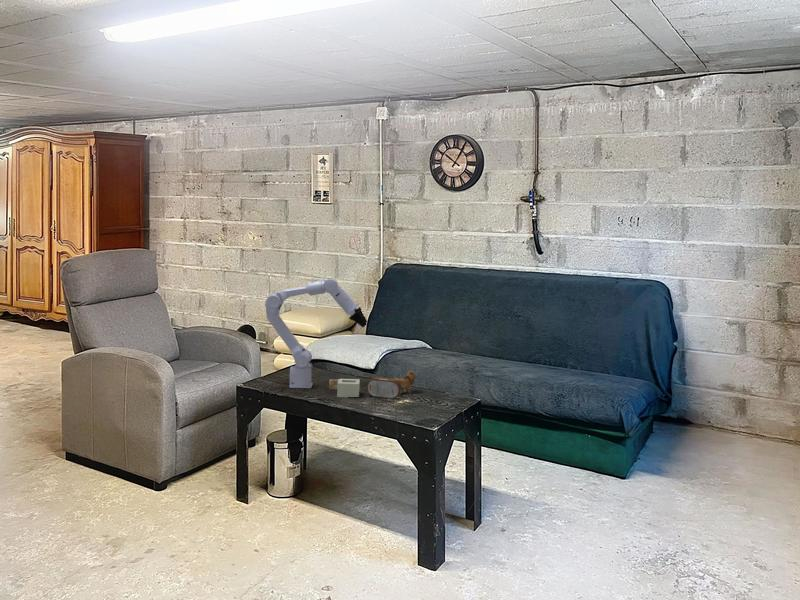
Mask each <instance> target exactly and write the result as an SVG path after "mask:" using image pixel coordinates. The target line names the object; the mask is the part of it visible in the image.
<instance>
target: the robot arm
mask: <svg viewBox="0 0 800 600" xmlns="http://www.w3.org/2000/svg"><path fill="white" fill-rule="evenodd" d="M326 293H327V294H330V296H331V297H332V299H334V301H335V302H336V304H338V306H339V307H340V308H341V309H342V310H343V312H344V313H345V315H350V316H349V318H348V319H349V320H350V321H353V322H354V323H356V324H358V325H359V326H360V327H361V328H365V326H367V322H368V320H367V318H366V316H365V315H364V313H363V311H362V308H361V306H359V305H360V303H359V302H357V303H355V301H354V300H353V299H352V298H351V297H350V296H349V294H348V293H347V292H346V291H345V290H344V289H343V288H342V286H340V285H339V284H338V281H337V279H334V278H327V279H325V278H322V280H318V281H315V280H311V281H310V282H308V283H307V284H306V285H305V286H299V287H292V288H291V287H290V288H285V289H282V290H279V291H275V292H273V293H271V294H269V295H268V296H267V297H266V300H265V303H264V307H265V312H266V313H265V314H266V319H267V320H268V322H269V323H270V325H271V327H272V328H274V330H275V331H276V333H277V334H278V335H279V337H280V338H281V340H282V341H283V342H284V344H285V345H286V346H287V348H288V350H290V353H291V356H292V358H293V359H294V364H295V365H293V366H290V368H289V388H290V389H291V388H292V389H311V388H312V386H313V384H314V383H313V382H312V364H311V361H312V358H313V356H312V353H311V352H310V350H308V349H306V348H305V347H304V346H303V345H302V344H301V343H300V342H299V341H298V340H297V338H296V336H295V335H294V334H293V333H292V331H291V329H290V328H289V327H288V326H287V324H286V323H285V321H284V320H283V319H282V317H281V316H280V311H281V308H282V306H283V304H284V302H285V301H286V300H287V299H289V298H291V297H296V296H300V295H305V294H308V295H309V296H311V297H312V296H316V295H323V294H326ZM358 306H359V307H358Z"/></svg>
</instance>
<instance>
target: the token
mask: <svg viewBox="0 0 800 600" xmlns="http://www.w3.org/2000/svg"><path fill="white" fill-rule="evenodd" d="M338 380H339V379H329V382H328V383H329V384H328V386H329V387H328V389H329V390H337V384H338Z"/></svg>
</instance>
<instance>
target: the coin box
mask: <svg viewBox="0 0 800 600" xmlns="http://www.w3.org/2000/svg"><path fill="white" fill-rule="evenodd" d="M337 380H338V384H337V389H336V390H337V391H336V393H337V394H336V398H348V397H360V393H359V392H360V387H361V386H360V384H361V380H360V378H339V379H337Z"/></svg>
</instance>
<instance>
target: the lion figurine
mask: <svg viewBox="0 0 800 600" xmlns="http://www.w3.org/2000/svg"><path fill="white" fill-rule="evenodd" d="M416 378H417V377H416V372H415V371H412V370H410V371H408V372H407V373H406V374H405V377H404V378H394V379H395V380H397V381H398V382H399V383H400V384H401V387H402V388H404V389H403V391H404V392H405V393H406V392H408V393H409V394H412V391H411V389H412V386H413V385H414V384H415V381H416Z"/></svg>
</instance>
